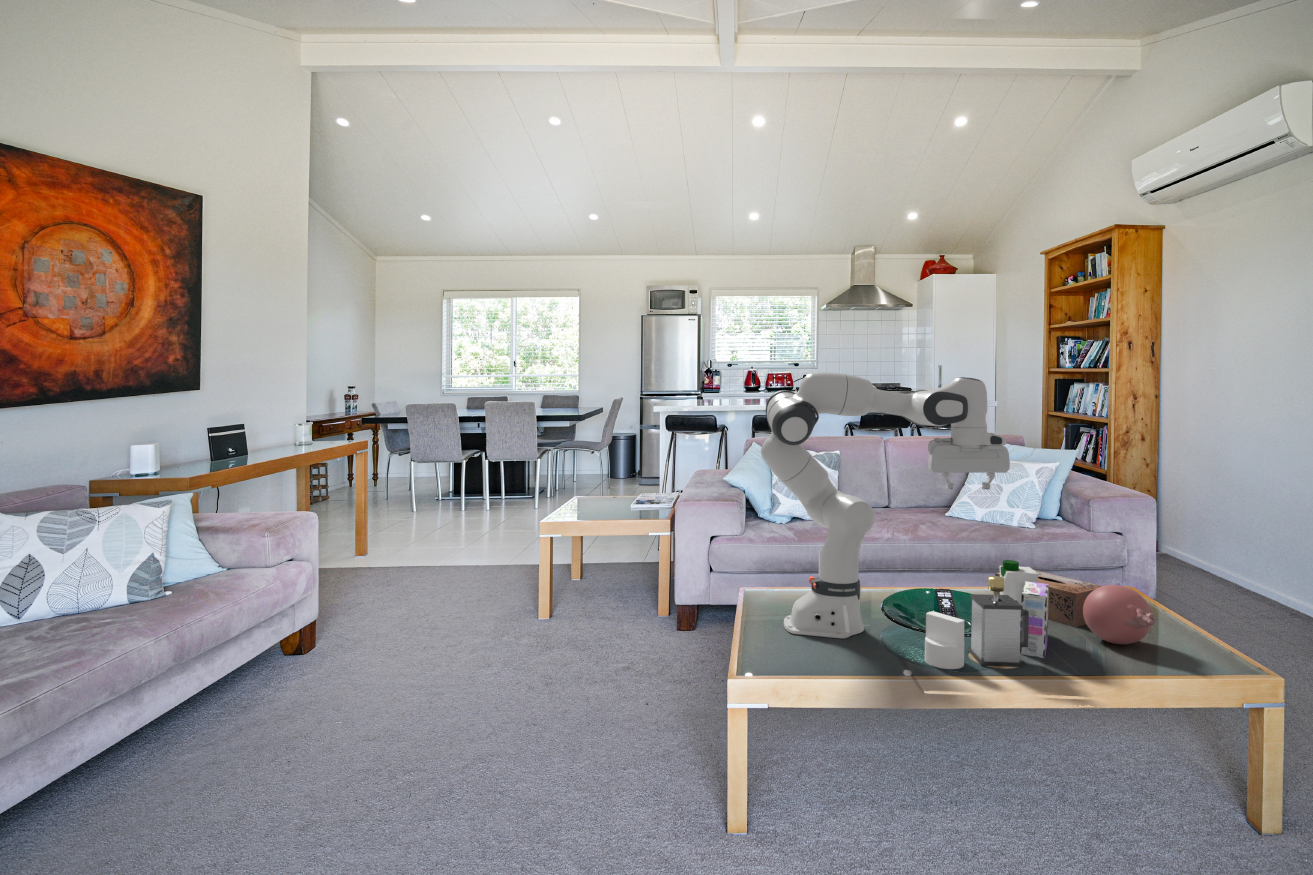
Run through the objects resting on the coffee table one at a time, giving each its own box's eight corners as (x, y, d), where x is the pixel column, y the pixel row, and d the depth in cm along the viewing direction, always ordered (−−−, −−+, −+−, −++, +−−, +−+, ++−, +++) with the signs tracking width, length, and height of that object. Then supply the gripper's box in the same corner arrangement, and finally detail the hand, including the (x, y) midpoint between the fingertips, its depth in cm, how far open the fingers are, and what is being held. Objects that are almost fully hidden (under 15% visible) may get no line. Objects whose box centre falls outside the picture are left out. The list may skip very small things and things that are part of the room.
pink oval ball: (1117, 660, 171) (1119, 599, 170) (1069, 632, 191) (1071, 578, 190) (1179, 660, 171) (1181, 599, 170) (1125, 632, 191) (1127, 578, 190)
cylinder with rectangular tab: (971, 665, 168) (972, 618, 168) (950, 674, 163) (951, 625, 162) (938, 654, 176) (939, 608, 175) (917, 662, 171) (917, 615, 170)
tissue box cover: (1105, 620, 202) (1106, 586, 201) (1075, 628, 195) (1076, 593, 195) (1023, 597, 225) (1024, 567, 224) (994, 604, 218) (995, 573, 218)
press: (981, 665, 167) (982, 605, 166) (968, 651, 176) (969, 593, 175) (1034, 667, 165) (1036, 606, 164) (1018, 652, 175) (1019, 594, 174)
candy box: (1045, 660, 171) (1047, 596, 170) (1019, 656, 174) (1020, 592, 173) (1048, 643, 183) (1049, 582, 182) (1023, 639, 186) (1024, 579, 185)
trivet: (977, 669, 166) (978, 667, 166) (961, 651, 178) (961, 649, 178) (1030, 671, 164) (1030, 669, 164) (1010, 652, 176) (1010, 650, 176)
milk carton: (995, 626, 196) (997, 557, 195) (1029, 628, 195) (1031, 558, 193) (1004, 637, 188) (1006, 565, 187) (1040, 639, 186) (1042, 566, 185)
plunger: (986, 648, 168) (988, 580, 167) (978, 639, 174) (979, 574, 173) (1012, 648, 167) (1014, 581, 166) (1002, 640, 173) (1004, 574, 172)
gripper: (931, 438, 182) (931, 490, 183) (1012, 438, 179) (1011, 490, 180) (925, 437, 188) (924, 487, 189) (1003, 437, 186) (1002, 487, 187)
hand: (967, 489), depth 185 cm, fingers open, 8 cm apart
